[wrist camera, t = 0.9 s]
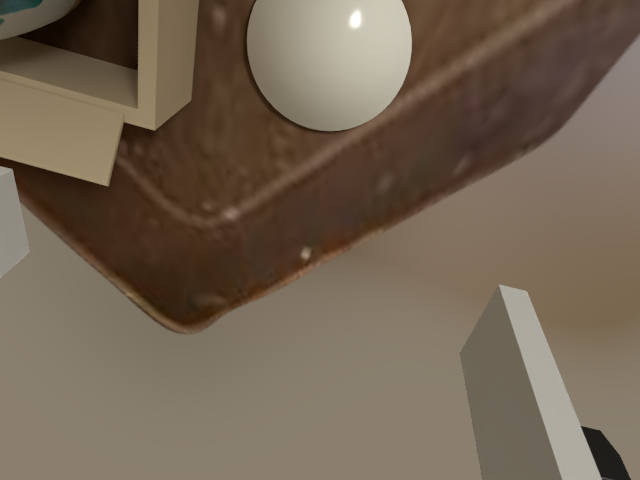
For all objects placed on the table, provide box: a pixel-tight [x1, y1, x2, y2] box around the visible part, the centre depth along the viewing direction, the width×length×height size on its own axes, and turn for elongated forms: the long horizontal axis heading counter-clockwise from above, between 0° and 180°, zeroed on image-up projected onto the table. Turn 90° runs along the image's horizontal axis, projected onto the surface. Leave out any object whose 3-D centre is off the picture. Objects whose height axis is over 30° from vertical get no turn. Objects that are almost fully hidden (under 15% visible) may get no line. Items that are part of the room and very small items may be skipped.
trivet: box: [247, 0, 412, 131], centre depth 33 cm, size 12×12×1 cm
